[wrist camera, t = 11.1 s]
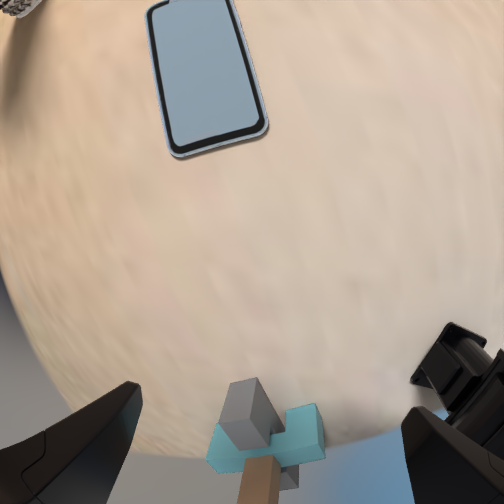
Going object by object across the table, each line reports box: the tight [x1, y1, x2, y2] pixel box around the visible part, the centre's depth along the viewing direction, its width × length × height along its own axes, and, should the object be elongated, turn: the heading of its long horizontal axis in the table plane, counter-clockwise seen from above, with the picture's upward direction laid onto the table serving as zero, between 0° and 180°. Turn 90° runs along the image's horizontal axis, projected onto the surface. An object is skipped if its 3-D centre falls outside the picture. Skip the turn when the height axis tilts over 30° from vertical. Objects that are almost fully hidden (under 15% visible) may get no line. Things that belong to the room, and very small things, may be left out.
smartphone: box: [144, 0, 268, 157], centre depth 17 cm, size 7×1×15 cm
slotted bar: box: [218, 377, 299, 491], centre depth 21 cm, size 12×2×5 cm, turn 23°
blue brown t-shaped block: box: [205, 403, 325, 504], centre depth 18 cm, size 10×2×10 cm, turn 113°
